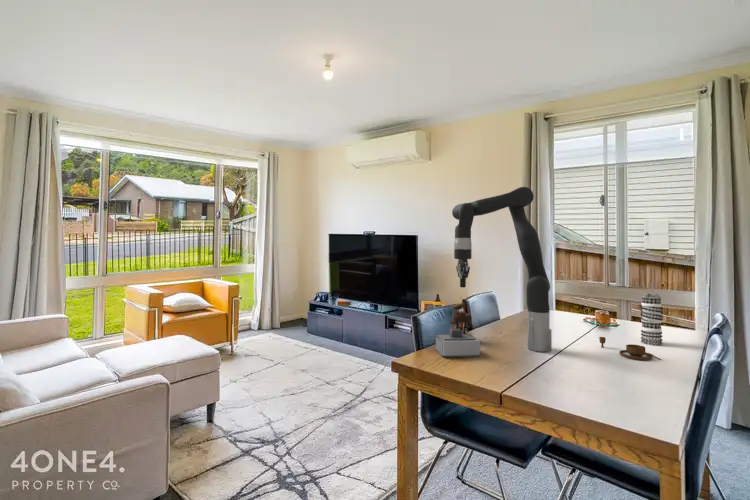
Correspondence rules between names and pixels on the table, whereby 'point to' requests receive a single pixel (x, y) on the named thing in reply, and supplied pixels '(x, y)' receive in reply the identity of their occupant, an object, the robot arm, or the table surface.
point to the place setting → (632, 351)
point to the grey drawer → (461, 348)
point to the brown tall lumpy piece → (460, 318)
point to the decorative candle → (651, 319)
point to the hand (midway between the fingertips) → (462, 287)
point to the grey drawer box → (453, 336)
